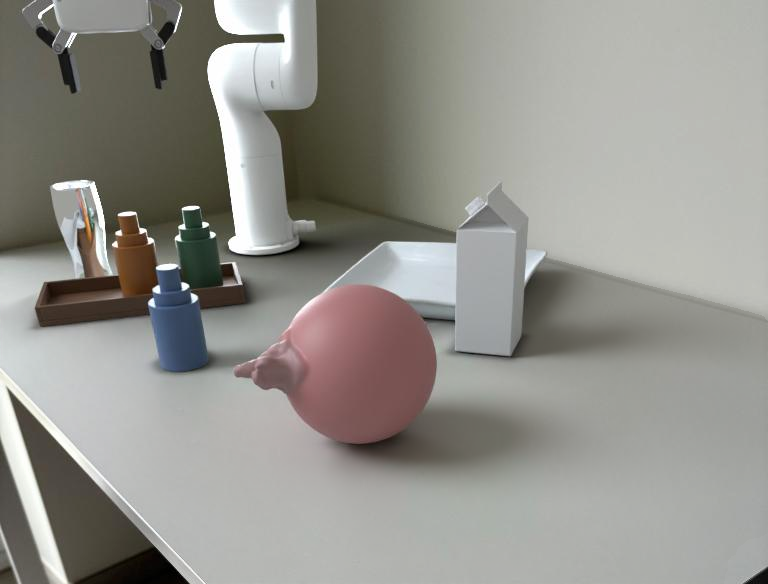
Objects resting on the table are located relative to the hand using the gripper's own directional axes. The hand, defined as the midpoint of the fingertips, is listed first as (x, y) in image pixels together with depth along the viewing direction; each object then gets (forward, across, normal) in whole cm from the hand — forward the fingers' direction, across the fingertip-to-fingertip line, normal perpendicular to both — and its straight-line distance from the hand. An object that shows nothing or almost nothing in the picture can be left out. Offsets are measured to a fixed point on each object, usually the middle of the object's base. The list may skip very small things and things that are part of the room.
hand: (118, 90), depth 94 cm
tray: (+29, +4, -14) cm, 33 cm away
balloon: (+30, -21, +36) cm, 51 cm away
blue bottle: (+30, -4, +12) cm, 32 cm away
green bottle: (+28, -5, -15) cm, 32 cm away
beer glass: (+29, +13, -26) cm, 41 cm away
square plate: (+29, -40, -6) cm, 50 cm away
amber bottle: (+28, +4, -14) cm, 32 cm away
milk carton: (+30, -42, +15) cm, 54 cm away
